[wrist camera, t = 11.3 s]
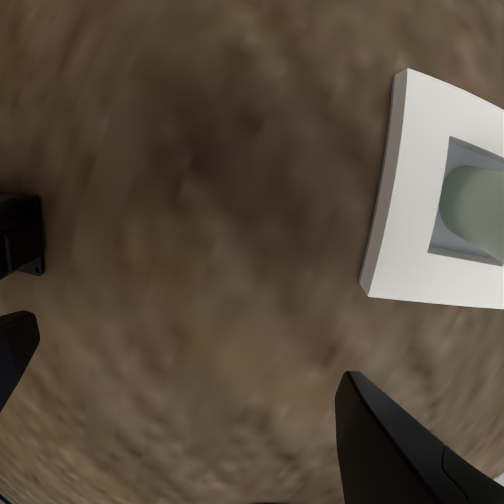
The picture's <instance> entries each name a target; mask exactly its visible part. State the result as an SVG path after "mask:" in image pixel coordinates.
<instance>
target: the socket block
mask: <svg viewBox="0 0 504 504" xmlns="http://www.w3.org/2000/svg"><path fill="white" fill-rule="evenodd" d="M460 166H473V167H479V168H484V169H489V170H494V171H499V172H504V110H502V109H500V108H499V107H497V106H495V105H493V104H491V103H489V102H487V101H485V100H483V99H481V98H479V97H477V96H475V95H473V94H471V93H469V92H466V91H464V90H462V89H460V88H457V87H455V86H453V85H451V84H448V83H446V82H443V81H441V80H438V79H436V78H433V77H431V76H428V75H426V74H423V73H420V72H417V71H415V70H412V69H409V68H407V69H405V70H403V71H401V72H400V73H398V74H396V75H394V76H393V81H392V93H391V103H390V112H389V121H388V129H387V137H386V144H385V151H384V158H383V164H382V171H381V177H380V182H379V188H378V193H377V199H376V204H375V209H374V214H373V219H372V224H371V229H370V233H369V238H368V242H367V247H366V251H365V255H364V259H363V263H362V268H361V272H360V275H359V279H358V282H359V284H360V285H361V287H362V288H363V290H364V291H365V293H366V295H367V296H368V297H376V298H385V299H395V300H404V301H414V302H425V303H435V304H446V305H458V306H470V307H482V308H495V309H504V263H503V262H501V261H500V260H498V259H497V258H495V257H493V256H492V255H490V254H488V253H487V252H485V251H484V250H482V249H480V248H479V247H477V246H475V245H473V244H472V243H470V242H468V241H467V240H465V239H463V238H461V237H460V236H458V235H456V234H454V233H453V232H451V231H450V230H449V229H448V228H447V227H446V226H445V224H444V223H443V221H442V218H441V216H440V211H439V200H440V195H441V190H442V184H443V182H444V180H445V178H446V177H447V176H448V174H449V173H450V172H451V171H453V170H454V169H456V168H457V167H460Z"/></svg>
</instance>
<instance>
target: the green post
mask: <svg viewBox="0 0 504 504" xmlns="http://www.w3.org/2000/svg"><path fill="white" fill-rule="evenodd" d="M439 211H440V216H441V218H442V221H443V223H444V224H445V226H446V227H447V228H448V229H449V230H450V231H451V232H453V233H454V234H456V235H458V236H460V237H461V238H463V239H465V240H467V241H468V242H470V243H472V244H473V245H475V246H477V247H479V248H480V249H482V250H484V251H485V252H487V253H488V254H490V255H492V256H493V257H495V258H497V259H498V260H500V261H501V262H503V263H504V172H499V171H494V170H489V169H484V168H479V167H473V166H460V167H457V168H456V169H454V170H453V171H451V172H450V173H449V174H448V176H447V177H446V178H445V180H444V182H443V184H442V190H441V195H440V200H439Z"/></svg>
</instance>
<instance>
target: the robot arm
mask: <svg viewBox="0 0 504 504" xmlns="http://www.w3.org/2000/svg"><path fill="white" fill-rule="evenodd" d="M34 201H35V204H34ZM38 268H39V270H40V271H39V270H38ZM15 271H21V272H25V273H29V274H33V275H37V276H40V275H42V274H43V273H44V261H43V249H42V235H41V214H40V199H39V197H38V196H37V195H27V194H13V193H0V280H1V279H3V278H4V277H6V276H8V275H9V274H12V273H14V272H15ZM39 342H40V334H39V329H38V325H37V320H36V316H35V315H34V314H33V313H31V312H28V311H25V310H22V311H18V312H14V313H11V314H7V315H3V316H0V412H1V411H2V409H3V407H4V405H5V404H6V402H7V400H8V399H9V397H10V395H11V394H12V392H13V391H14V389H15V387H16V386H17V384H18V382H19V381H20V379H21V377H22V375H23V373H24V371H25V369H26V367H27V365H28V363H29V361H30V360H31V358H32V356H33V354H34V352H35V350H36V348H37V346H38V345H39ZM335 414H336V440H337V452H338V459H339V466H340V472H341V479H342V486H343V493H344V500H345V504H504V487H503V486H502V485H500V484H499V483H497V482H495V481H494V480H492V479H491V478H489V477H488V476H486V475H485V474H483V473H482V472H480V471H479V470H478V469H476V468H475V467H473V466H472V465H470V464H469V463H468V462H466V461H465V460H464V459H463V458H461V457H460V456H459V455H458V454H456V453H455V452H454V451H453V450H451V449H450V448H449V447H448V446H447V445H444V443H443V442H442V441H441V440H439V439H438V438H437V437H436V436H435V435H433V434H432V433H431V432H430V431H429V430H428V429H426V428H425V427H424V426H423V425H422V424H420V423H419V422H418V421H417V420H416V419H415V418H413V417H412V416H411V415H410V414H409V413H408V412H406V411H405V410H404V409H403V408H402V407H401V406H399V405H398V404H397V403H396V402H395V401H394V400H392V399H391V398H390V397H389V396H388V395H387V394H385V393H384V392H383V391H382V390H381V389H380V388H378V387H377V386H376V385H375V384H374V383H373V382H372V381H370V380H369V379H368V378H367V377H366V376H365V375H364V374H362V373H361V372H359V371H346V372H345V373H344V374H343V376H342V379H341V382H340V384H339V387H338V389H337V392H336V395H335Z"/></svg>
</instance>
